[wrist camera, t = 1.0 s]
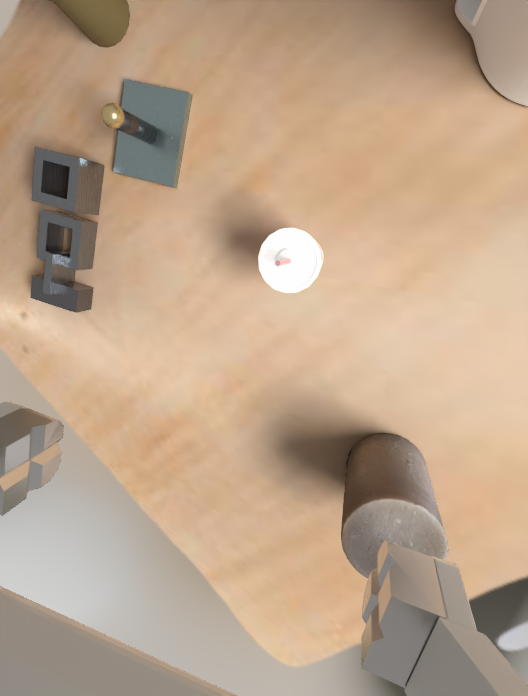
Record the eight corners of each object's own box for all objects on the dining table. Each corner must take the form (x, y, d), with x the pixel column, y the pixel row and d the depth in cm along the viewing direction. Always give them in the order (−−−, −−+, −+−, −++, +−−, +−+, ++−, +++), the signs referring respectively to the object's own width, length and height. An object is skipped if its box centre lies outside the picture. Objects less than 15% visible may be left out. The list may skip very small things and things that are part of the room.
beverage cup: (268, 268, 49) (230, 277, 35) (293, 220, 46) (263, 211, 33) (313, 294, 48) (291, 313, 35) (340, 247, 46) (328, 248, 33)
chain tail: (54, 210, 54) (28, 207, 50) (101, 223, 52) (77, 222, 48) (47, 295, 57) (22, 299, 53) (90, 309, 56) (68, 314, 52)
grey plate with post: (129, 82, 47) (76, 46, 39) (192, 95, 46) (151, 61, 37) (118, 173, 50) (66, 158, 42) (176, 188, 49) (135, 176, 40)
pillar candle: (334, 482, 53) (323, 569, 39) (365, 419, 50) (364, 489, 36) (406, 514, 52) (421, 617, 38) (442, 452, 49) (473, 538, 35)
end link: (62, 154, 52) (35, 146, 47) (104, 165, 50) (79, 158, 46) (58, 203, 53) (31, 200, 49) (98, 214, 52) (74, 212, 48)
